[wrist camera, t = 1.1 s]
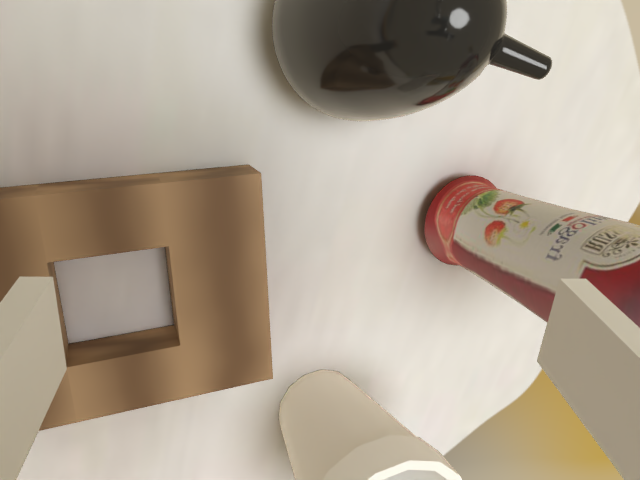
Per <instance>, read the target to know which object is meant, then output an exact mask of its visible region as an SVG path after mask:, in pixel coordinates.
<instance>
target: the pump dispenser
mask: <svg viewBox="0 0 640 480" xmlns="http://www.w3.org/2000/svg"><path fill="white" fill-rule="evenodd" d="M506 18H507V2H506V0H275V3H274V9H273V18H272V33H273V42H274V48H275V52H276V56H277V59H278V62H279V65H280V67H281V69H282V72H283V74H284V76H285V77H286V79H287V81H288V82H289V84H290V85H291V87H292V88H293V89H294V91H295V92H296V93H297V94H298V95H299V96H300V97H301V98H302V99H303V100H304V101H305V102H306V103H308V104H309V105H310V106H312V107H313V108H315V109H316V110H318V111H320V112H322V113H324V114H327V115H329V116H332V117H335V118H339V119H344V120H350V121H375V120H385V119H391V118H397V117H401V116H405V115H409V114H413V113H416V112H419V111H421V110H424V109H427V108H429V107H432V106H434V105H436V104H438V103H440V102H442V101H444V100H446V99H448V98H450V97H452V96H453V95H455V94H456V93H458V92H459V91H461V90H462V89H464V88H465V87H466V86H468V85H469V84H470V83H471V82H473V81H474V80H475V79H476V78H477V77H478V76H479V75H480V74H481V73H482V71H483V70H484V68H485V67H486V66H487V65H488V64H490V65H494V66H497V67H500V68H503V69H506V70H509V71H512V72H516V73H519V74H522V75H525V76H528V77H531V78H534V79H538V80H540V79H543V78H544V77H545V76H546V75H547V74H548V73H549V71H550V69H551V66H552V60H551V58H550V57H549V56H547V55H545V54H543V53H541V52H539V51H537V50H535V49H533V48H531V47H529V46H527V45H525V44H523V43H522V42H520V41H518V40H516V39H514V38H512V37H510V36H508V35H506V34H505V33H504V31H505V25H506Z"/></svg>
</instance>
